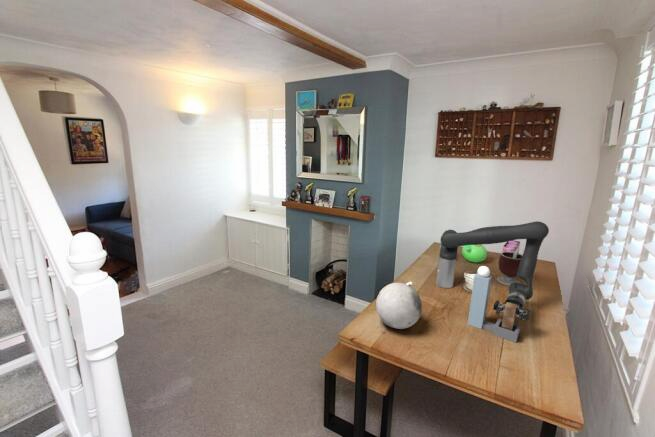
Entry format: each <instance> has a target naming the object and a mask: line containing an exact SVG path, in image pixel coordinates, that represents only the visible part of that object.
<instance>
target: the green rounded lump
mask: <svg viewBox="0 0 655 437" xmlns="http://www.w3.org/2000/svg"><path fill="white" fill-rule="evenodd" d="M461 255H462V256H463V257H464V259H466V261H468V262H471V263H481V262H483V261H484V260H485V259H487V257H488V251H487V249H486V247H485V246H484V244H481V245H465V246H462V248H461Z"/></svg>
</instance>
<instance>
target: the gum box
mask: <svg viewBox="0 0 655 437" xmlns="http://www.w3.org/2000/svg"><path fill="white" fill-rule="evenodd" d="M520 246H521V241H519V240H512V241H507V242H505V243H504V245H503V246H502V250H501V251H502V252H513V253H514V252H515V251H516V250H517V249H518V248H519V249H520ZM519 251H520V250H519ZM519 251H518V254H520V253H519ZM502 252H501V253H502Z"/></svg>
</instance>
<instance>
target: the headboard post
mask: <svg viewBox="0 0 655 437" xmlns="http://www.w3.org/2000/svg"><path fill="white" fill-rule="evenodd" d="M492 278H493V275H491V271H490V268H489V267H488V266H485V265H481V266H479V268H478V269H477V272H476V274H475V275H474V277H473V284H472V291H471V298H470V304H469V313H468V320H467V325H469V326H472V327H475V328H478V329H479V330H482V329H484V330H486V331H490V332H493V333H492V335H493V336H496V337H498V338H502V339H505V340H508V341H510V342H513V343H517V341H518V338H519V335H520V330H521V324H517V323H515V322H514V326H513V331H510V330H507V329H504V328H501V327H502V321H503V318H497V321H496V322H495V323H493V322H491V321H488V320H486V317H487V310H488V305H489V304H488V303H489V298H490V290H491V284H492Z"/></svg>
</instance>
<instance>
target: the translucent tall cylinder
mask: <svg viewBox="0 0 655 437" xmlns="http://www.w3.org/2000/svg"><path fill="white" fill-rule="evenodd" d="M516 309H517V305H515V304H512V303H508V302H507V303H506V305H505V309H504V313H503V316H502V320H503V321H502V327H501V328H504V329H507V330H510V331H513V326H514V323H515V320H516V319H515V318H516V315H515V314H516Z"/></svg>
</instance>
